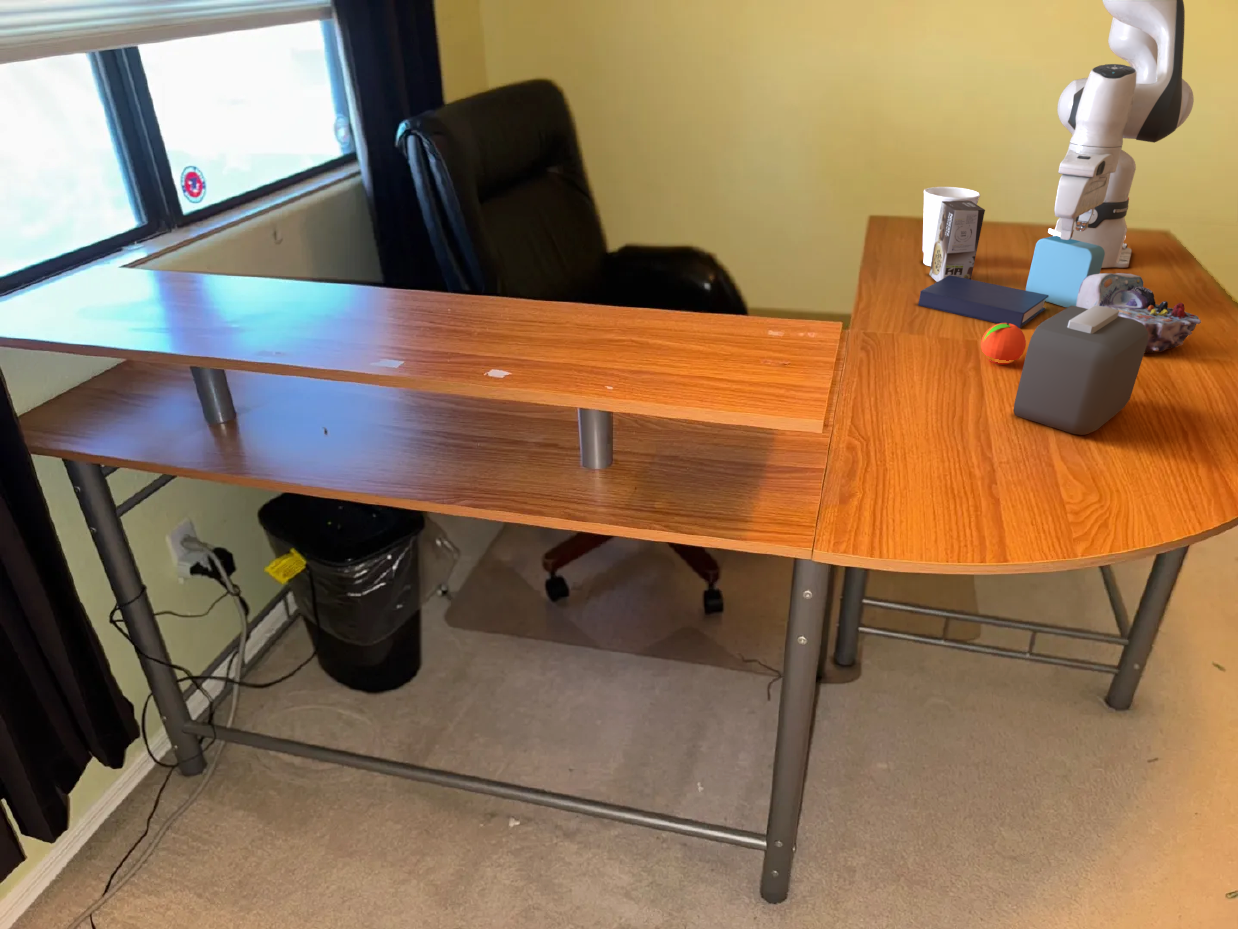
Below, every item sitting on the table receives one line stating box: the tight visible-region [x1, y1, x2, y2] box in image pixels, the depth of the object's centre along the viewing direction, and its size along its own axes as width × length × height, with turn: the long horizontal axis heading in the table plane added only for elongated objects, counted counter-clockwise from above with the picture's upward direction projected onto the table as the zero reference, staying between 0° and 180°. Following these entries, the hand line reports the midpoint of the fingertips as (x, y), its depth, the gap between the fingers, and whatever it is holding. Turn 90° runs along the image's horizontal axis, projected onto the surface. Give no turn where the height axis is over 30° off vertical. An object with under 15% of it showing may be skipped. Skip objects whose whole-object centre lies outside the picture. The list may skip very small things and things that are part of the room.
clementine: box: [980, 323, 1027, 366], centre depth 147 cm, size 8×7×7 cm
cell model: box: [1076, 272, 1202, 354], centre depth 157 cm, size 13×11×20 cm
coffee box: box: [929, 201, 986, 283], centre depth 186 cm, size 9×6×16 cm
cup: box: [922, 186, 981, 267], centre depth 197 cm, size 12×12×16 cm
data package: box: [1025, 235, 1105, 309], centre depth 175 cm, size 12×4×12 cm, turn 33°
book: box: [917, 275, 1049, 329], centre depth 174 cm, size 14×20×3 cm
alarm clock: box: [1013, 305, 1148, 436], centre depth 128 cm, size 16×11×16 cm
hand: (1073, 234), depth 171 cm, fingers open, 8 cm apart
